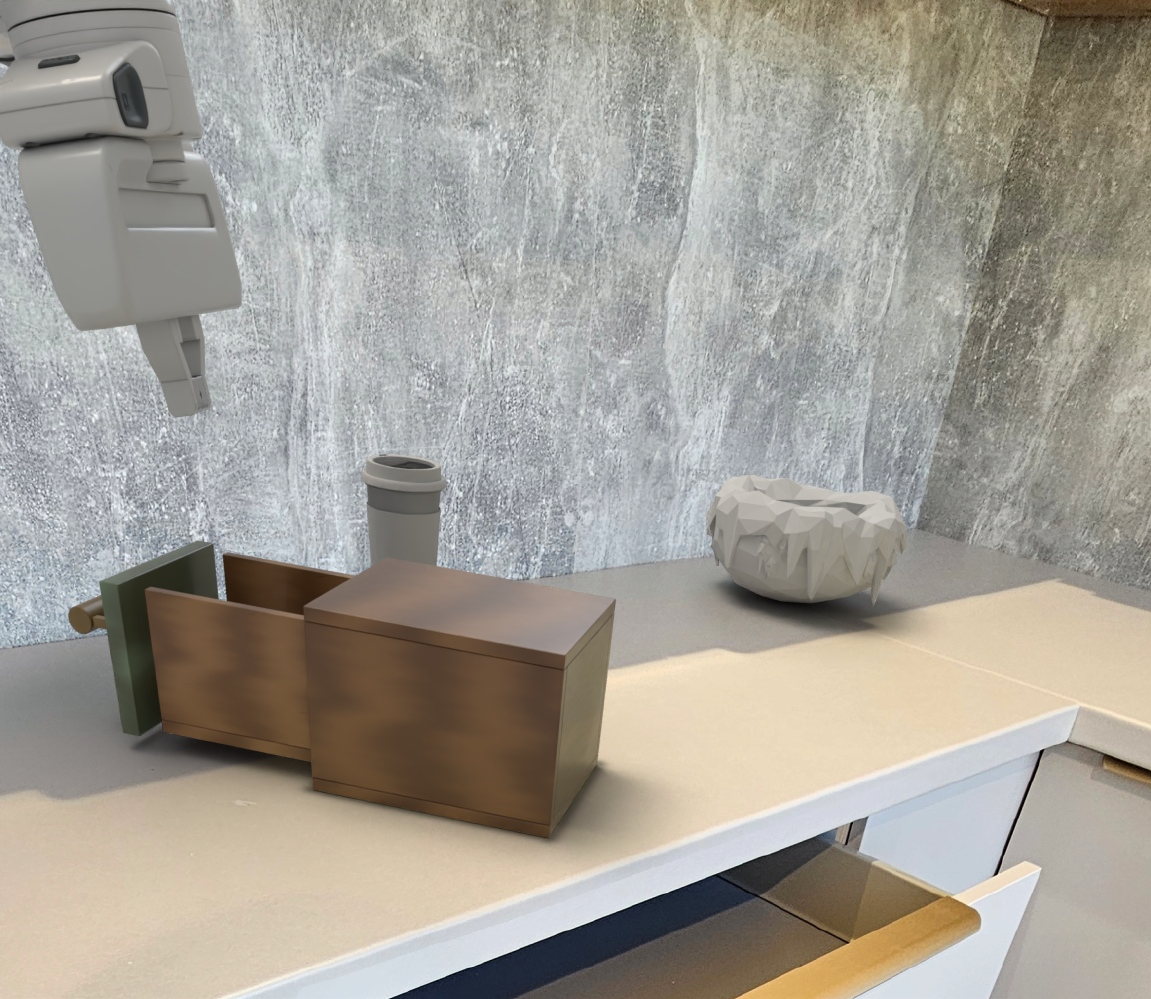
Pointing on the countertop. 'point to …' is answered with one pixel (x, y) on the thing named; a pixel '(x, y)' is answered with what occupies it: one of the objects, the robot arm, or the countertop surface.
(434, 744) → the cabinet
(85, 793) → the countertop surface
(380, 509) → the cup
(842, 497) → the bowl
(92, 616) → the drawer
